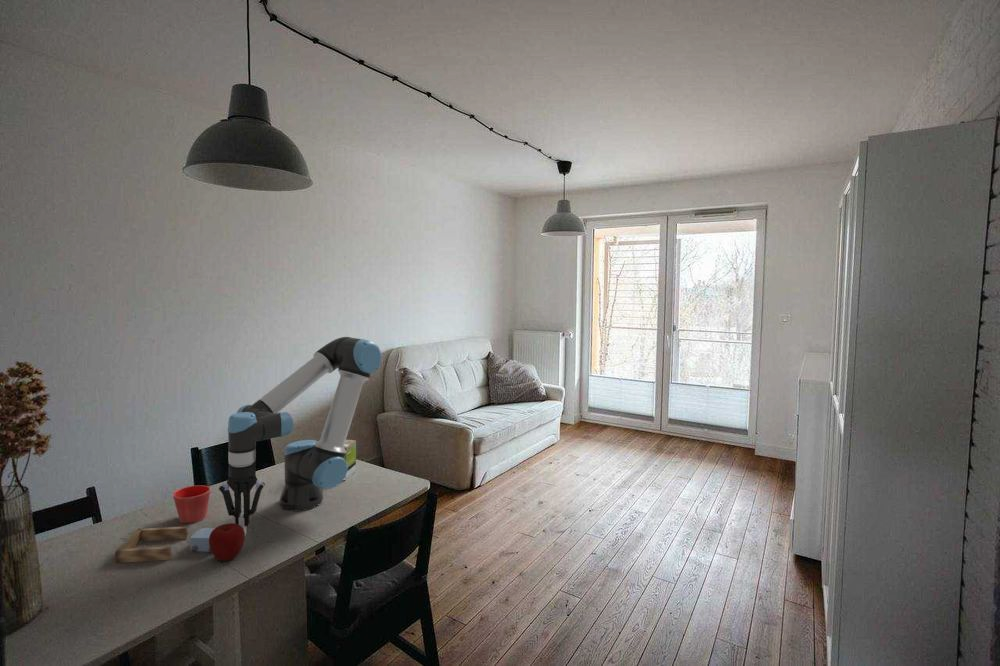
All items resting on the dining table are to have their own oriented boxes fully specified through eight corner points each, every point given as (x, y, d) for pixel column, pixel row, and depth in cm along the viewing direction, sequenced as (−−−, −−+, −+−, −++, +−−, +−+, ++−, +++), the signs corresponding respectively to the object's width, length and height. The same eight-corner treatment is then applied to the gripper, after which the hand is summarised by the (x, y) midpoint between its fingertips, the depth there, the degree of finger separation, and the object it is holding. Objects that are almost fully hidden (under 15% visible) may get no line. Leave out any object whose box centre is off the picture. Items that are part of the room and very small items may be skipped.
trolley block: (228, 541, 163) (227, 527, 163) (215, 553, 156) (215, 539, 156) (202, 540, 163) (202, 527, 163) (189, 552, 156) (189, 538, 156)
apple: (221, 548, 159) (220, 517, 158) (251, 549, 159) (251, 519, 157) (202, 565, 149) (201, 532, 148) (234, 567, 149) (234, 534, 148)
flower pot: (177, 513, 180) (176, 487, 179) (212, 509, 184) (212, 483, 183) (171, 527, 170) (170, 499, 169) (209, 522, 174) (208, 495, 173)
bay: (188, 536, 165) (187, 526, 164) (169, 559, 152) (169, 548, 151) (139, 539, 162) (138, 528, 162) (115, 562, 149) (115, 551, 149)
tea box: (312, 477, 215) (312, 443, 213) (324, 468, 225) (324, 436, 223) (345, 481, 213) (346, 446, 211) (356, 472, 223) (356, 439, 221)
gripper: (267, 458, 164) (267, 528, 166) (223, 459, 161) (224, 530, 163) (261, 466, 156) (261, 540, 159) (214, 467, 154) (215, 542, 156)
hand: (242, 535), depth 161 cm, fingers closed
